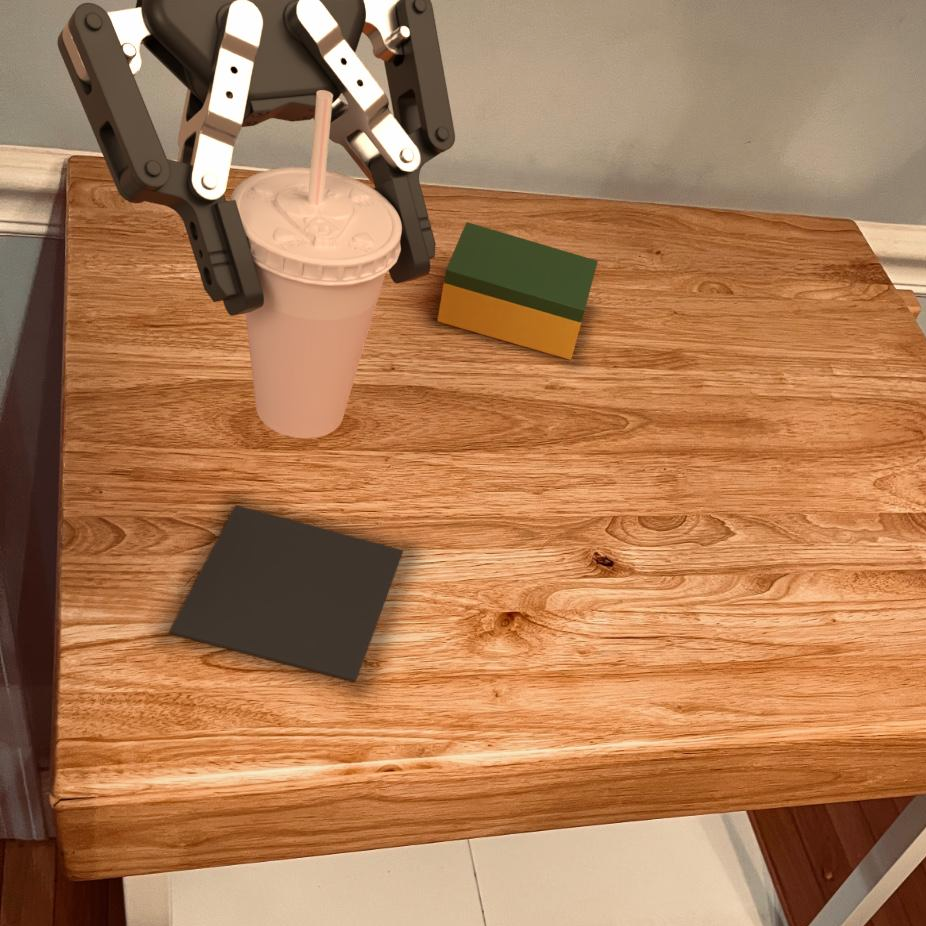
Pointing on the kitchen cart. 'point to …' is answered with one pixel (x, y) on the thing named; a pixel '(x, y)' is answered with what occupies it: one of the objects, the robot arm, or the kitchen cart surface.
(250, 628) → the cloth
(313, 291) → the smoothie
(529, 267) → the scrubber
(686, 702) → the kitchen cart surface
